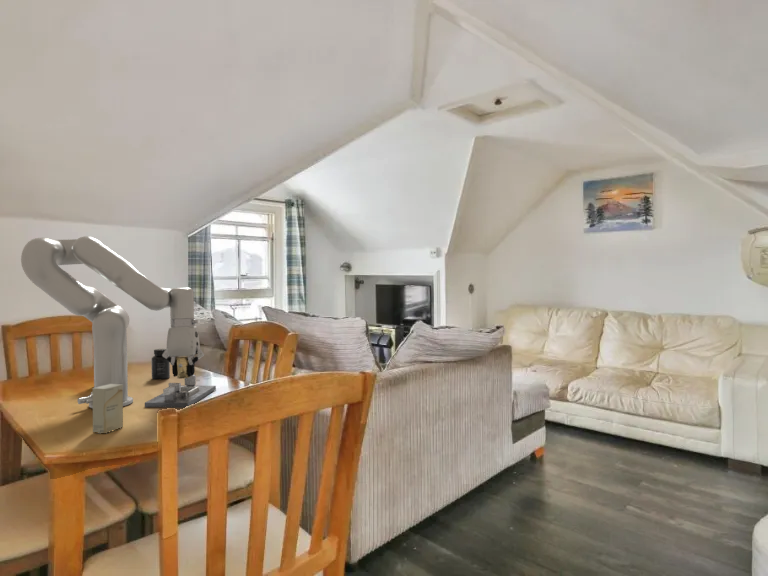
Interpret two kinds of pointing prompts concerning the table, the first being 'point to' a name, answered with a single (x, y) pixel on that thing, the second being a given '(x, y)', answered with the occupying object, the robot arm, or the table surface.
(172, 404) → the shaft bench
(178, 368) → the universal joint block
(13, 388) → the table surface
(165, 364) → the supplement bottle
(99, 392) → the skincare box
